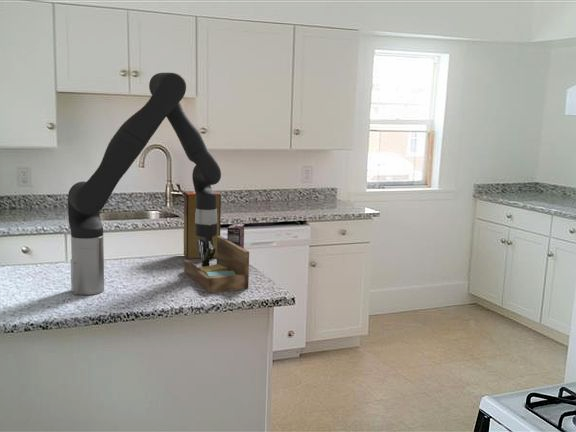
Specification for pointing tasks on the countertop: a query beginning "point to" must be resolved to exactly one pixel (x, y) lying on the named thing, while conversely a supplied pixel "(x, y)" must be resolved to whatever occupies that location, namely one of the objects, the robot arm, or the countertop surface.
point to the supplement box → (236, 234)
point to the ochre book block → (213, 268)
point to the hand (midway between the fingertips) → (205, 270)
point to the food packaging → (189, 225)
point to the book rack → (227, 257)
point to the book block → (220, 273)
